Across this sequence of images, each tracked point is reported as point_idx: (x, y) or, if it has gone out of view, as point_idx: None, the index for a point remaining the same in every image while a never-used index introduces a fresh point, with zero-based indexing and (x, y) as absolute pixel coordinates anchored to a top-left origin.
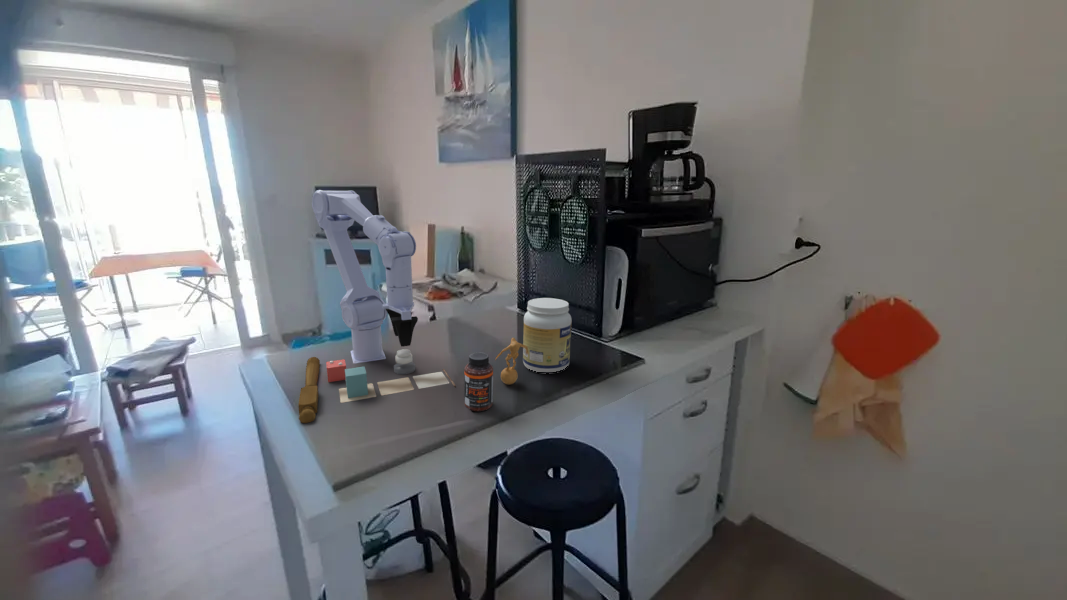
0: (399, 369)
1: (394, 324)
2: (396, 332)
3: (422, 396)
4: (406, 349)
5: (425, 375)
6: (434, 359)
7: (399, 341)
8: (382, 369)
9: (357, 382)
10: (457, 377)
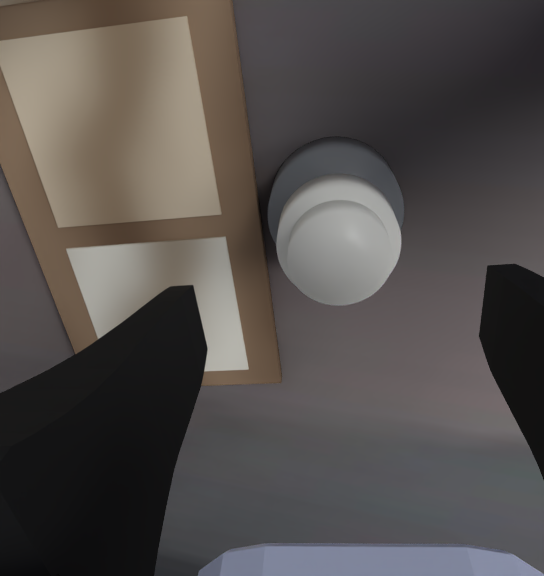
0: (276, 181)
1: (43, 408)
2: (499, 295)
3: (17, 250)
4: (376, 284)
5: (219, 298)
6: (450, 362)
7: (165, 300)
8: (439, 60)
9: None
10: (194, 406)
